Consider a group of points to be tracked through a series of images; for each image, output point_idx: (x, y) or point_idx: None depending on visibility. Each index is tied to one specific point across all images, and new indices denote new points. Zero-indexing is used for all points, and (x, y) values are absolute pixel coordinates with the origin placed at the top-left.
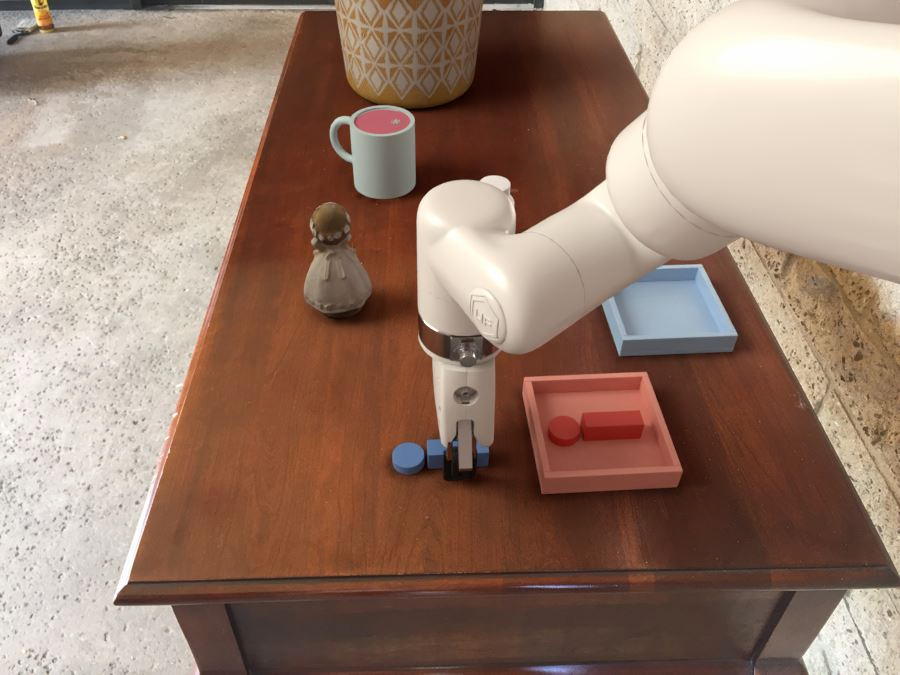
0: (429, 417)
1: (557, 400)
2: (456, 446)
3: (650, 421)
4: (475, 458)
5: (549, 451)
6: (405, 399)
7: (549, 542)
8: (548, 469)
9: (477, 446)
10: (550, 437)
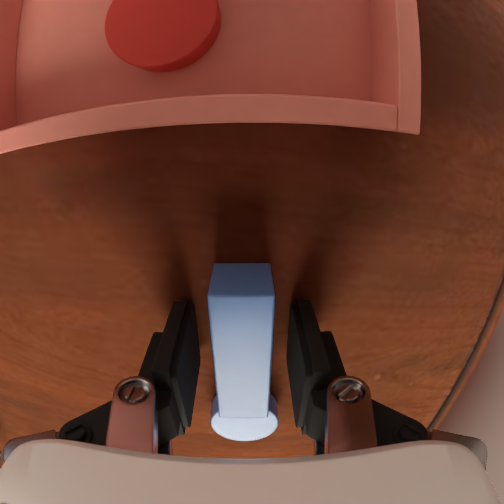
0: (119, 366)
1: (39, 48)
2: (312, 430)
3: None
4: (365, 384)
5: (237, 73)
6: (87, 392)
7: (491, 151)
8: (389, 110)
9: (246, 324)
10: (185, 63)
